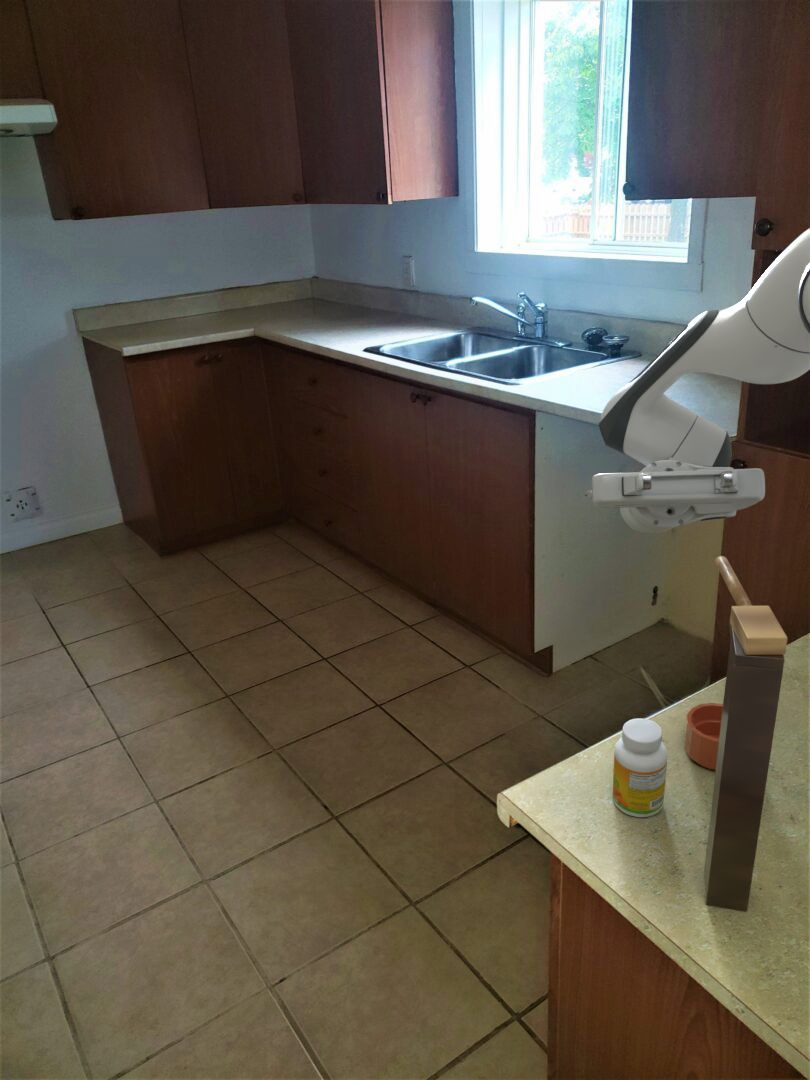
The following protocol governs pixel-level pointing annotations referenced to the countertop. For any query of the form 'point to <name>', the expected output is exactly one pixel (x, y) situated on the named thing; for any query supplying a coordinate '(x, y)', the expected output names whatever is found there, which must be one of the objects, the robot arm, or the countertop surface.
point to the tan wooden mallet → (752, 618)
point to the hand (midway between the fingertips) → (687, 479)
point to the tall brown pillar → (741, 774)
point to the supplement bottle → (640, 769)
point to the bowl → (703, 733)
